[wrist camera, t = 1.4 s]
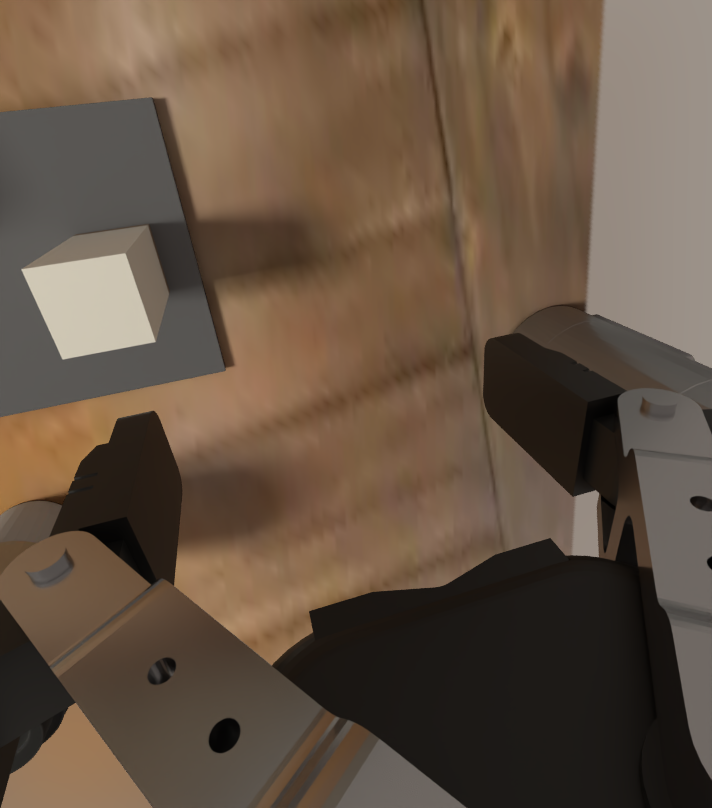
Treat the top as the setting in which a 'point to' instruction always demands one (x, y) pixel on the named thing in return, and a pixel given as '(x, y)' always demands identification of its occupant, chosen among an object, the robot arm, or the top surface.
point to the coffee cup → (3, 544)
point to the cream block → (101, 290)
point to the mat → (82, 213)
